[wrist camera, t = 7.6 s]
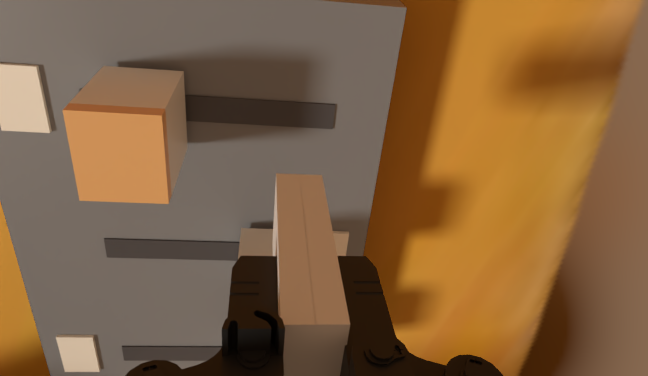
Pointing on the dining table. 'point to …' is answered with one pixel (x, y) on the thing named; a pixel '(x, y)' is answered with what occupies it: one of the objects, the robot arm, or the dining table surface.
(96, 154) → the slider
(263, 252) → the slider mid
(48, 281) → the switch unit
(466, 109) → the dining table surface
